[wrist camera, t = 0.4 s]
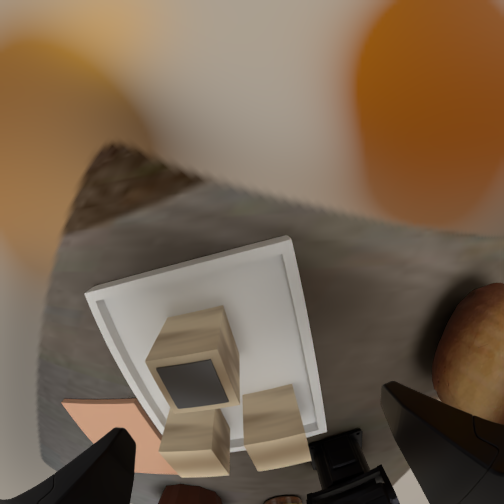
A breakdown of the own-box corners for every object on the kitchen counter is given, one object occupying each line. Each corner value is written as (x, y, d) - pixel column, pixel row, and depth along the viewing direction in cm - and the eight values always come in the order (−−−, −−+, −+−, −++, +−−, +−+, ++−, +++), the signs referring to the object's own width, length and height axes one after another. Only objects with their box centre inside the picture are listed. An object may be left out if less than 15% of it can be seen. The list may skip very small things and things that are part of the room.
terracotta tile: (189, 469, 26) (188, 474, 25) (120, 466, 26) (119, 470, 25) (136, 398, 22) (134, 403, 22) (64, 398, 23) (61, 402, 22)
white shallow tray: (323, 420, 24) (327, 431, 22) (180, 444, 24) (178, 456, 22) (286, 234, 20) (291, 239, 18) (94, 286, 20) (84, 293, 18)
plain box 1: (230, 428, 23) (229, 475, 17) (188, 433, 23) (181, 477, 17) (215, 399, 22) (211, 449, 16) (170, 405, 22) (158, 451, 16)
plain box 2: (299, 414, 23) (311, 460, 17) (254, 424, 23) (258, 471, 17) (292, 383, 22) (305, 432, 16) (242, 394, 22) (243, 445, 16)
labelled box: (239, 354, 21) (239, 406, 15) (187, 364, 21) (173, 415, 15) (223, 305, 20) (217, 350, 14) (167, 317, 20) (143, 362, 14)
